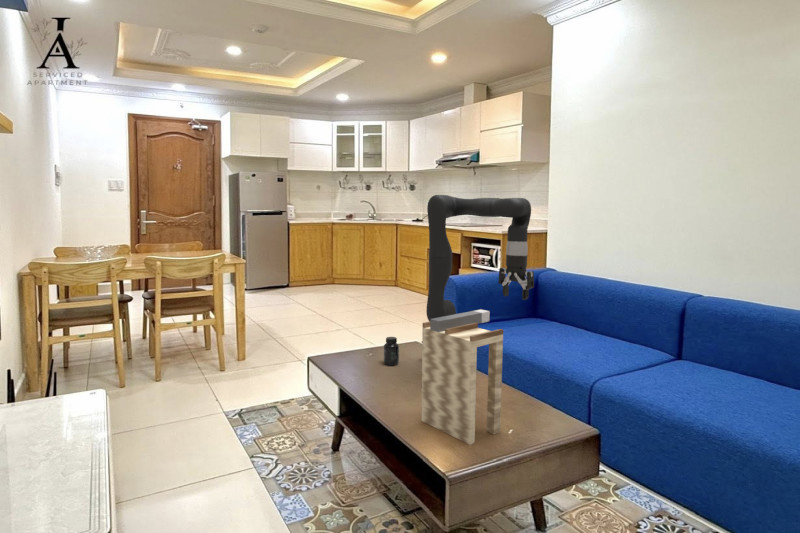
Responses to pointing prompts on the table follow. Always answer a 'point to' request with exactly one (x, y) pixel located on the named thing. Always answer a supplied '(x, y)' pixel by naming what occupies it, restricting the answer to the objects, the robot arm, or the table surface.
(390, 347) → the supplement bottle
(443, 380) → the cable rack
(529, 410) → the table surface
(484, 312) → the grey rectangular bar
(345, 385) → the table surface
